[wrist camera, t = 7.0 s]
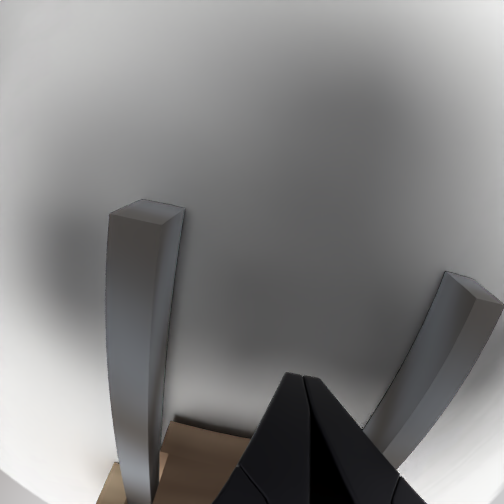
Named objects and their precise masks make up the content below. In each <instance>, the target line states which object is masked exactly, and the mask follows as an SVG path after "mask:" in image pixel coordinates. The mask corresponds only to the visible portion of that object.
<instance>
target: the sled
mask: <svg viewBox="0 0 504 504" xmlns="http://www.w3.org/2000/svg"><path fill="white" fill-rule="evenodd" d="M250 440H251V439H249V438H244V437H238V436H233V435H228V434H223V433H219V432H214V431H210V430H205V429H201V428H197V427H193V426H189V425H185V424H181V423H178V422H174V421H170V424H169V427H168V429H167V432H166V435H165V438H164V441H163V444H162V446H161V449H160V466H159V485H158V488H157V491H156V494H155V498H154V501H153V504H211V503H212V502H213V501H214V500H215V498H216V497H217V495H218V494H219V492H220V491H221V489H222V488H223V486H224V485H225V483H226V482H227V480H228V479H229V477H230V475H231V473H232V472H233V470H234V468H235V467H236V465H237V463H238V462H239V460H240V458H241V456H242V455H243V453H244V451H245V449H246V447H247V445H248V444H249V442H250Z"/></svg>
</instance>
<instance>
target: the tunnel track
mask: <svg viewBox="0 0 504 504" xmlns="http://www.w3.org/2000/svg"><path fill="white" fill-rule="evenodd" d="M184 212H185V208H182V207H177V206H173V205H168V204H163V203H158V202H153V201H149V200H144V199H141V200H139V201H136V202H134V203H132V204H130V205H127V206H125V207H123V208H121V209H119V210H116V211H114V212H112V213H110V215H109V227H108V241H107V260H106V347H107V365H108V379H109V391H110V401H111V410H112V418H113V426H114V433H115V440H116V447H117V453H118V459H119V464H118V463H115V462H114V464H113V466H112V469H111V471H110V473H109V475H108V478H107V480H106V482H105V484H104V487H103V489H102V491H101V493H100V496H99V498H98V500H97V502H96V504H153V501H154V498H155V494H156V491H157V488H158V485H159V466H160V449H161V427H162V407H163V391H164V377H165V364H166V353H167V342H168V332H169V322H170V313H171V304H172V296H173V287H174V280H175V272H176V265H177V257H178V250H179V244H180V237H181V230H182V224H183V218H184ZM503 309H504V304H503V303H502V302H501V301H500V300H498V299H497V298H496V297H495V296H494V295H492V294H491V293H490V292H489V291H488V290H486V289H485V288H484V287H483V286H481V285H480V284H479V283H478V282H476V281H475V280H474V279H472V278H468V277H464V276H461V275H457V274H454V273H450V272H446V271H445V274H444V277H443V279H442V282H441V284H440V286H439V289H438V291H437V294H436V296H435V298H434V301H433V303H432V305H431V308H430V310H429V312H428V314H427V317H426V319H425V321H424V323H423V325H422V327H421V329H420V331H419V333H418V336H417V338H416V340H415V342H414V344H413V346H412V348H411V349H410V351H409V353H408V355H407V357H406V359H405V361H404V363H403V365H402V366H401V368H400V370H399V372H398V374H397V376H396V377H395V379H394V381H393V383H392V384H391V386H390V388H389V389H388V391H387V393H386V394H385V396H384V398H383V399H382V401H381V403H380V404H379V406H378V407H377V409H376V411H375V412H374V414H373V415H372V417H371V418H370V420H369V421H368V423H367V425H366V426H365V428H364V429H363V431H364V433H365V434H366V435H367V436H368V437H369V439H370V440H371V441H372V442H373V443H374V444H375V446H376V447H377V448H378V449H379V450H380V452H381V453H382V454H383V455H384V456H385V457H386V459H387V460H388V461H389V462H390V463H391V464H392V466H393V467H394V468H395V469H397V468H398V467H399V466H400V465H401V464H402V463H403V462H404V461H405V459H406V458H407V457H408V456H409V455H410V454H411V452H412V451H413V450H414V449H415V448H416V447H417V445H418V444H419V443H420V442H421V440H422V439H423V438H424V437H425V435H426V434H427V433H428V432H429V430H430V429H431V428H432V426H433V425H434V424H435V423H436V421H437V420H438V419H439V417H440V416H441V414H442V413H443V412H444V410H445V409H446V407H447V406H448V405H449V403H450V402H451V400H452V399H453V397H454V396H455V394H456V393H457V391H458V390H459V388H460V387H461V385H462V384H463V382H464V380H465V379H466V377H467V376H468V374H469V372H470V371H471V369H472V367H473V366H474V364H475V362H476V361H477V359H478V357H479V355H480V354H481V352H482V350H483V348H484V346H485V345H486V343H487V341H488V339H489V337H490V335H491V333H492V331H493V329H494V327H495V325H496V323H497V321H498V319H499V317H500V315H501V313H502V311H503Z"/></svg>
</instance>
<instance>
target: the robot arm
mask: <svg viewBox="0 0 504 504" xmlns="http://www.w3.org/2000/svg"><path fill="white" fill-rule="evenodd" d="M399 476H400V474H399V473H398V471H397V470H396V469H395V468H394V467H393V466H392V464H391V463H390V462H389V461H388V460H387V459H386V457H385V456H384V455H383V454H382V453H381V452H380V450H379V449H378V448H377V447H376V446H375V444H374V443H373V442H372V441H371V440H370V439H369V437H368V436H367V435H366V434H365V433H364V431H363V430H362V429H361V428H360V427H359V425H358V424H357V423H356V422H355V421H354V419H353V418H352V417H351V416H350V415H349V413H348V412H347V411H346V410H345V409H344V407H343V406H342V405H341V404H340V403H339V401H338V400H337V399H336V398H335V397H334V395H333V394H332V393H331V392H330V390H329V389H328V388H327V387H326V386H325V384H324V383H323V382H322V381H321V380H320V379H319V378H317V377H311V376H301V375H300V374H294V373H289V372H286V373H285V374H284V376H283V378H282V380H281V382H280V384H279V386H278V388H277V390H276V392H275V394H274V396H273V398H272V400H271V402H270V404H269V406H268V408H267V410H266V412H265V414H264V416H263V418H262V419H261V421H260V423H259V425H258V427H257V429H256V431H255V433H254V434H253V436H252V438H251V440H250V442H249V444H248V445H247V447H246V449H245V451H244V453H243V455H242V456H241V458H240V460H239V462H238V463H237V465H236V467H235V468H234V470H233V472H232V473H231V475H230V477H229V479H228V480H227V482H226V483H225V485H224V486H223V488H222V489H221V491H220V492H219V494H218V495H217V497H216V498H215V500H214V501H213V502H212V503H211V504H427V503H426V502H425V501H424V500H423V499H422V498H421V497H420V496H419V495H418V494H417V493H416V492H415V491H414V489H413V488H412V487H411V486H410V485H409V484H408V483H407V482H406V480H405V479H404V478H403V477H402V476H400V477H399Z"/></svg>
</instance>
